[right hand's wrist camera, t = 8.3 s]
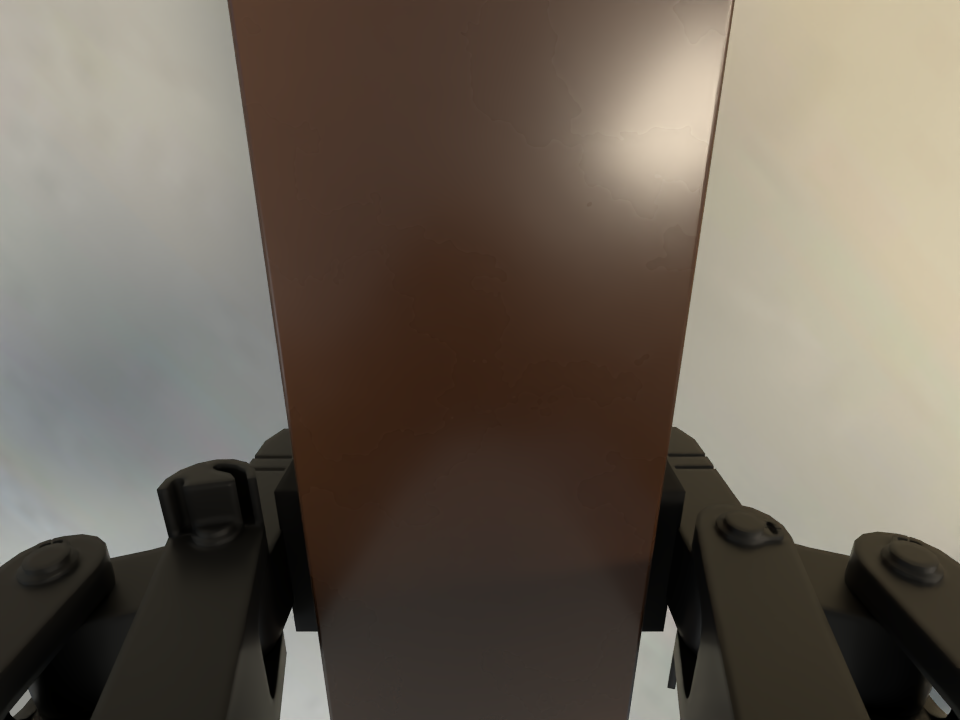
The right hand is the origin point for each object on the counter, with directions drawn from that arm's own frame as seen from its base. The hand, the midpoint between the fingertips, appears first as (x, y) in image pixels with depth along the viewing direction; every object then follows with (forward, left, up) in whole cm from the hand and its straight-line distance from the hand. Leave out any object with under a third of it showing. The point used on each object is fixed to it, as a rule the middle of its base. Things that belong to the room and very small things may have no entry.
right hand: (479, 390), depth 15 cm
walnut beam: (0, -12, 0) cm, 12 cm away
